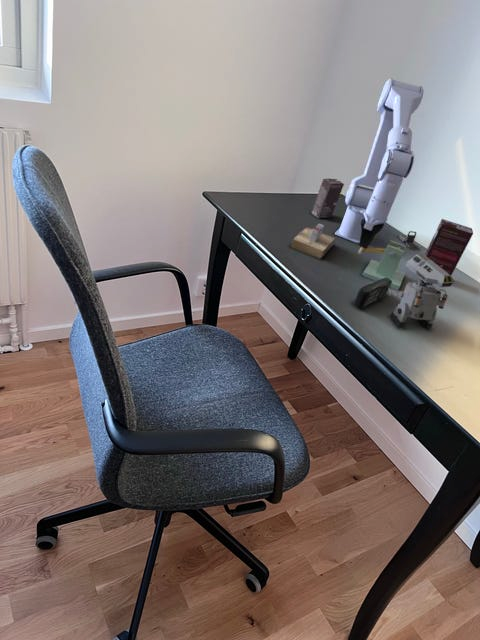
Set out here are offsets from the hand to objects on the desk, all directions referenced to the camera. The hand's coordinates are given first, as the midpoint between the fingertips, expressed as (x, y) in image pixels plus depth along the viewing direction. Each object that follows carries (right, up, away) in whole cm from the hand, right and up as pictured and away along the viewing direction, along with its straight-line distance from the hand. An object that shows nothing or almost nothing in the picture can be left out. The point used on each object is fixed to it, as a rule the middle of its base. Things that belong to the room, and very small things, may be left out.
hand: (363, 246), depth 127 cm
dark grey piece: (-1, -15, -11) cm, 19 cm away
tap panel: (-13, +1, +7) cm, 15 cm away
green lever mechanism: (+6, -8, +1) cm, 10 cm away
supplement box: (+22, -7, +9) cm, 25 cm away
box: (-6, +15, +30) cm, 34 cm away
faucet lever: (+4, -2, -1) cm, 5 cm away
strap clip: (+21, +5, +26) cm, 34 cm away
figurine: (+6, -20, -15) cm, 26 cm away
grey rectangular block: (-12, +3, +6) cm, 14 cm away
